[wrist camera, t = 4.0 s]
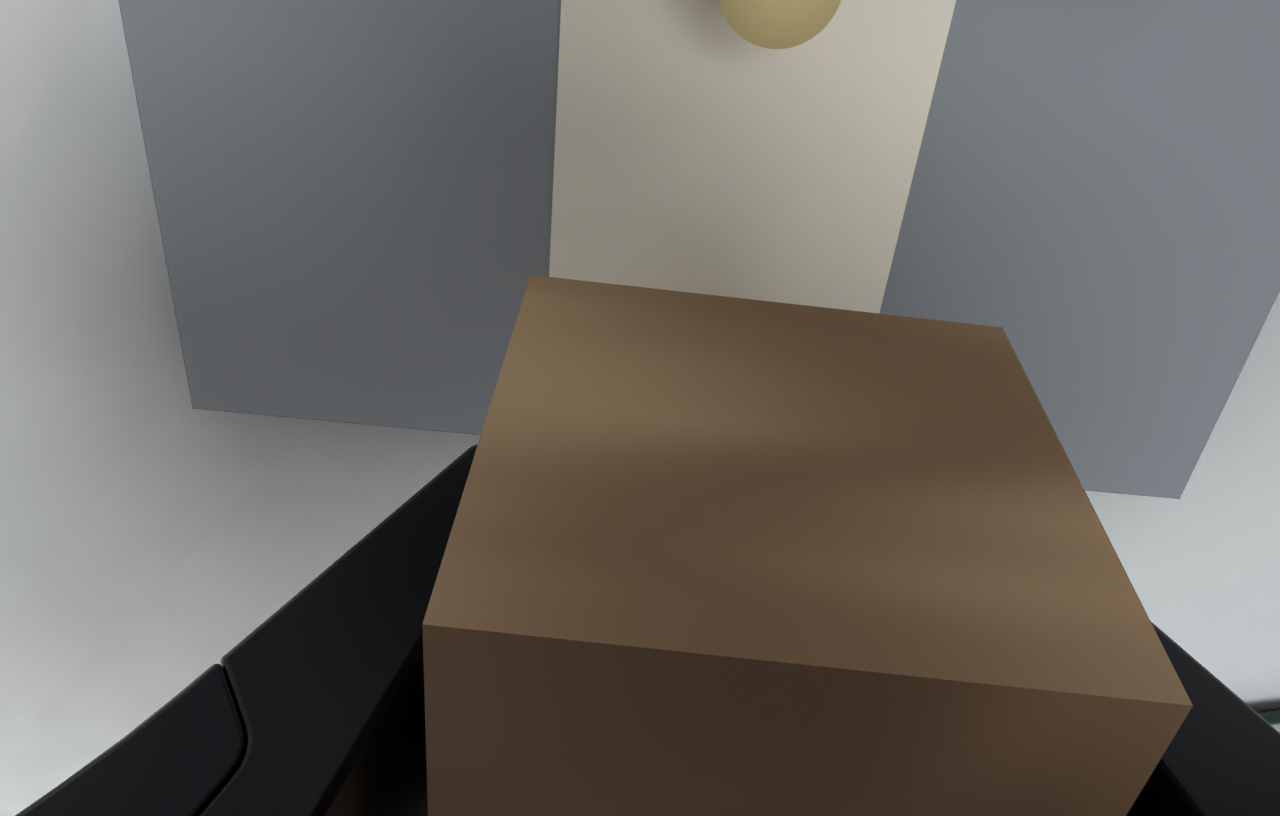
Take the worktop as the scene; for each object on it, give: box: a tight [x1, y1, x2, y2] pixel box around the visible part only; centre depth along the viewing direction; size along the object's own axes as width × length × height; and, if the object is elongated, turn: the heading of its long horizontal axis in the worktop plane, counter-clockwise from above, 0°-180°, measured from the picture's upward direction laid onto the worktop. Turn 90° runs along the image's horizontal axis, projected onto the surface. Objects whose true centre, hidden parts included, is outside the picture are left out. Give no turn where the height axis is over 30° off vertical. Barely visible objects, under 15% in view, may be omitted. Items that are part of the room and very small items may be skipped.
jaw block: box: [422, 275, 1193, 816], centre depth 8 cm, size 4×4×4 cm
